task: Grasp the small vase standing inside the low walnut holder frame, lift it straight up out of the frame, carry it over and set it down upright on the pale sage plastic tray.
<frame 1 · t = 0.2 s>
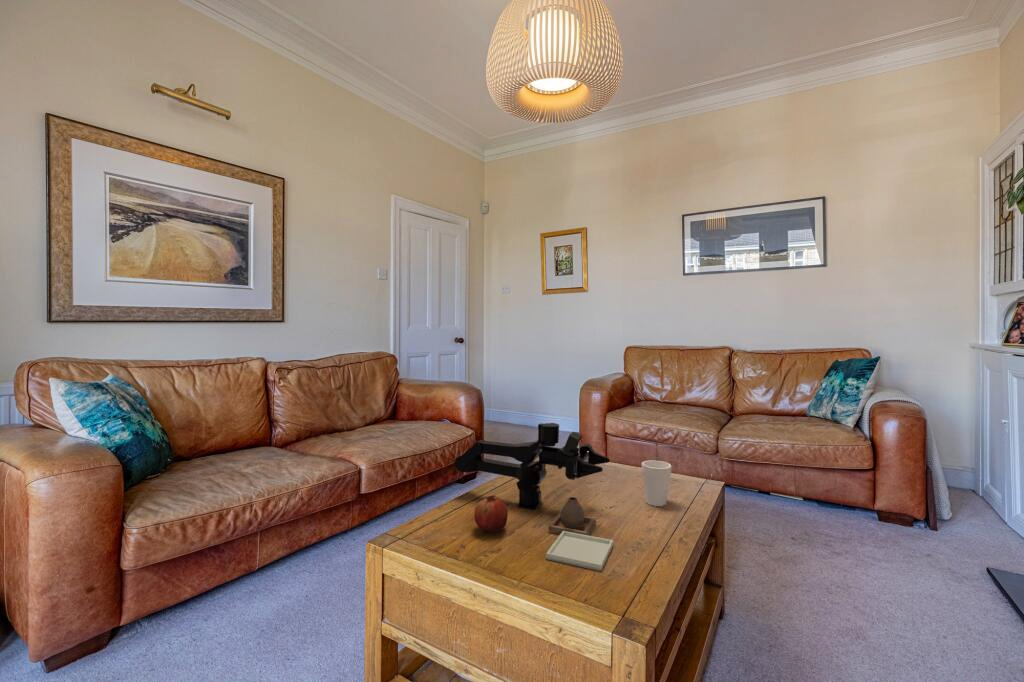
hand: (606, 464, 138), 17 cm above the table, tool horizontal, fingers open, 9 cm apart
vase: (572, 528, 132), resting in holder
foam cup: (656, 503, 151), on the table
tray: (580, 552, 117), on the table
holder: (572, 528, 132), on the table
fruit: (491, 531, 130), on the table
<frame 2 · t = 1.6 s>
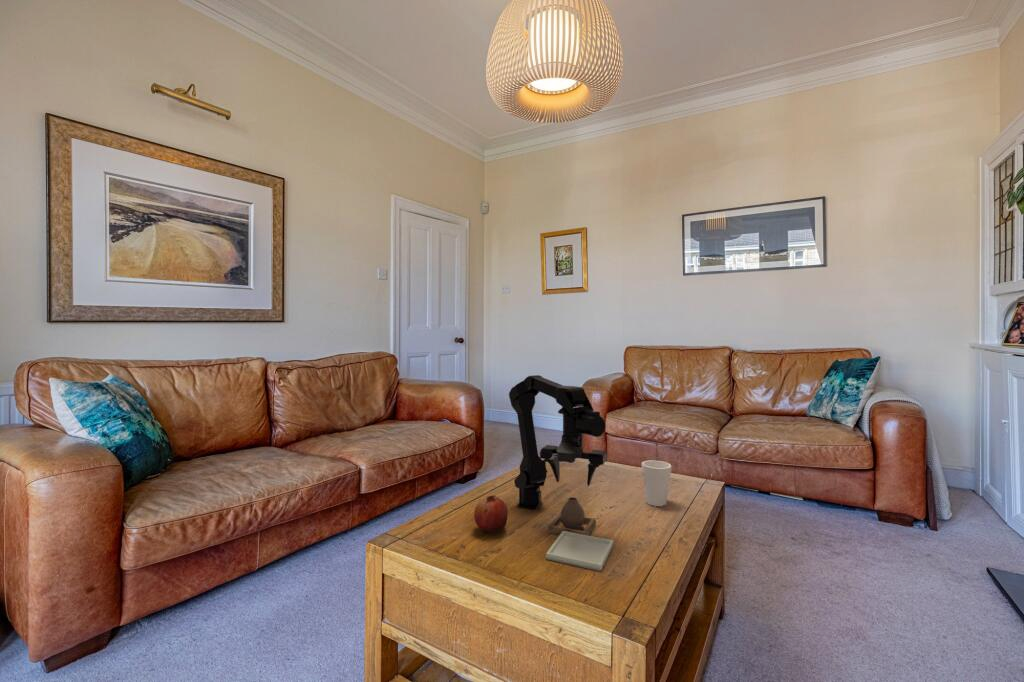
hand: (573, 483, 131), 13 cm above the table, tool pointing down, fingers open, 9 cm apart
nothing on the table moved.
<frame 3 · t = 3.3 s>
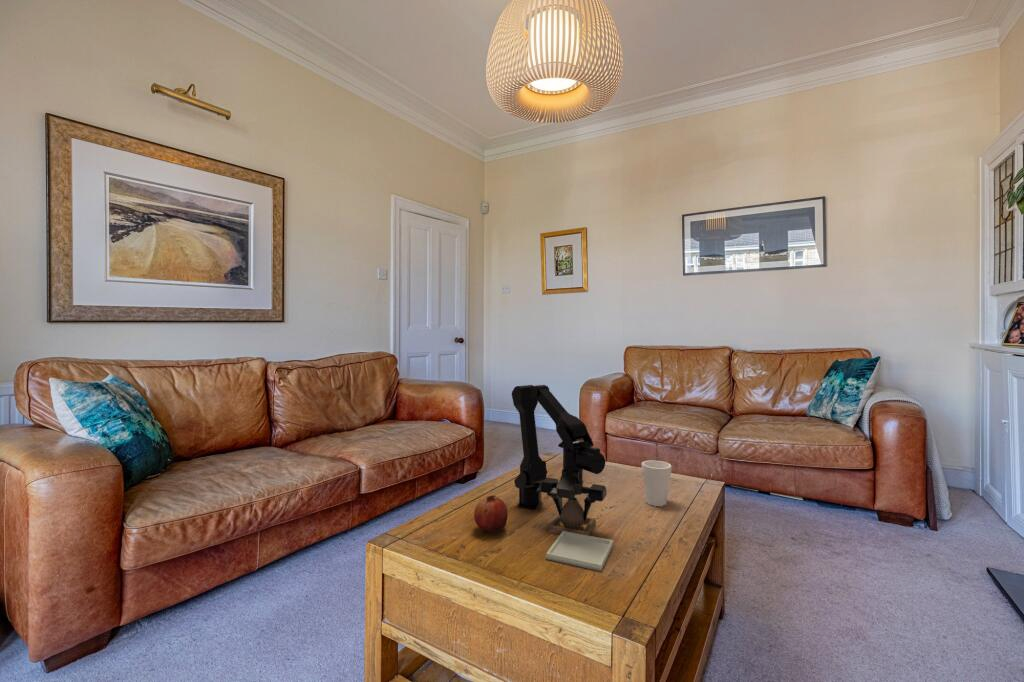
hand: (572, 517, 132), 3 cm above the table, tool pointing down, fingers closed on vase, 7 cm apart
vase: (572, 528, 132), resting in holder, touching gripper
everything else where it was.
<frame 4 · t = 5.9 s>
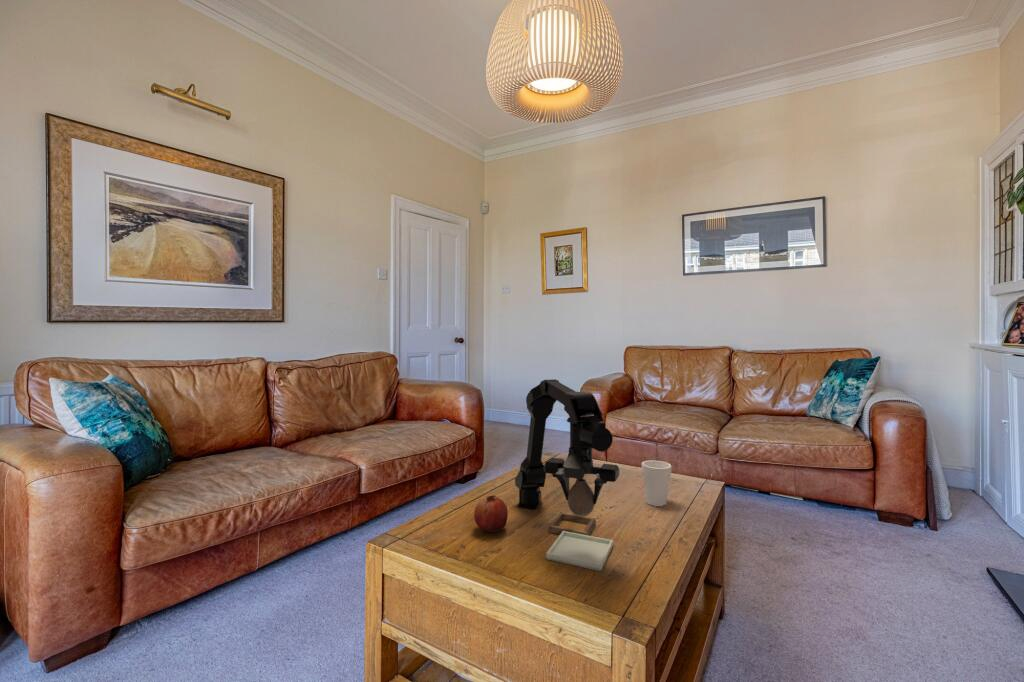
hand: (581, 501, 117), 13 cm above the table, tool pointing down, fingers closed on vase, 7 cm apart
vase: (581, 514, 117), point 10 cm above the table, touching gripper
everything else where it was.
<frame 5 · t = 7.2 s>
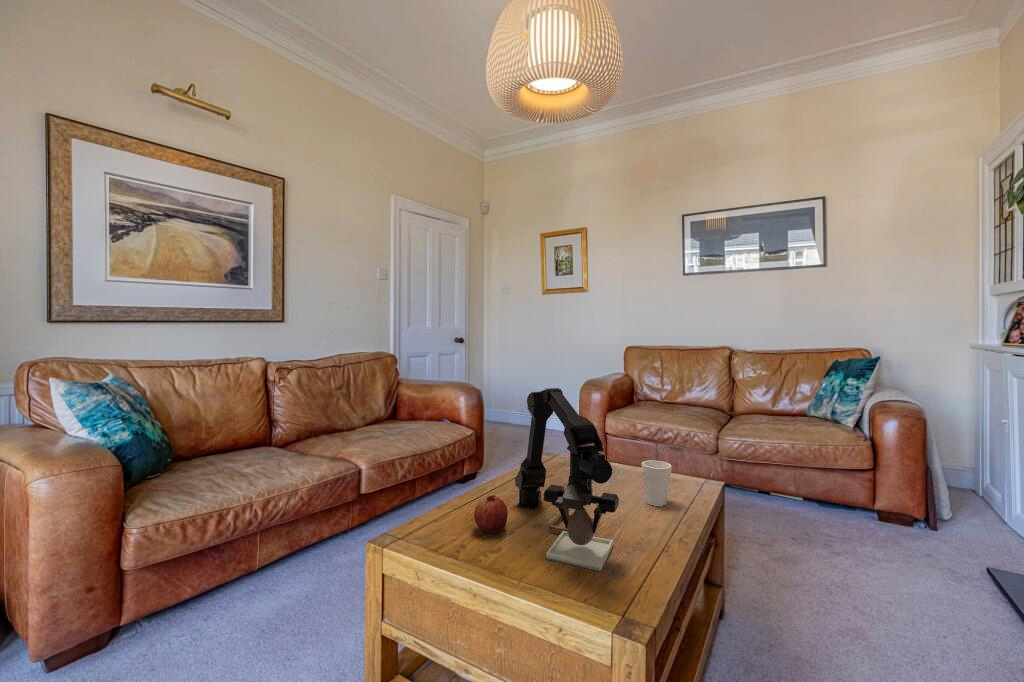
hand: (580, 530, 117), 6 cm above the table, tool pointing down, fingers closed on vase, 7 cm apart
vase: (580, 542, 117), point 3 cm above the table, touching gripper
everything else where it was.
when the fingers open (5 cm above the table, at t = 8.4 s): vase stays where it is, resting on tray.
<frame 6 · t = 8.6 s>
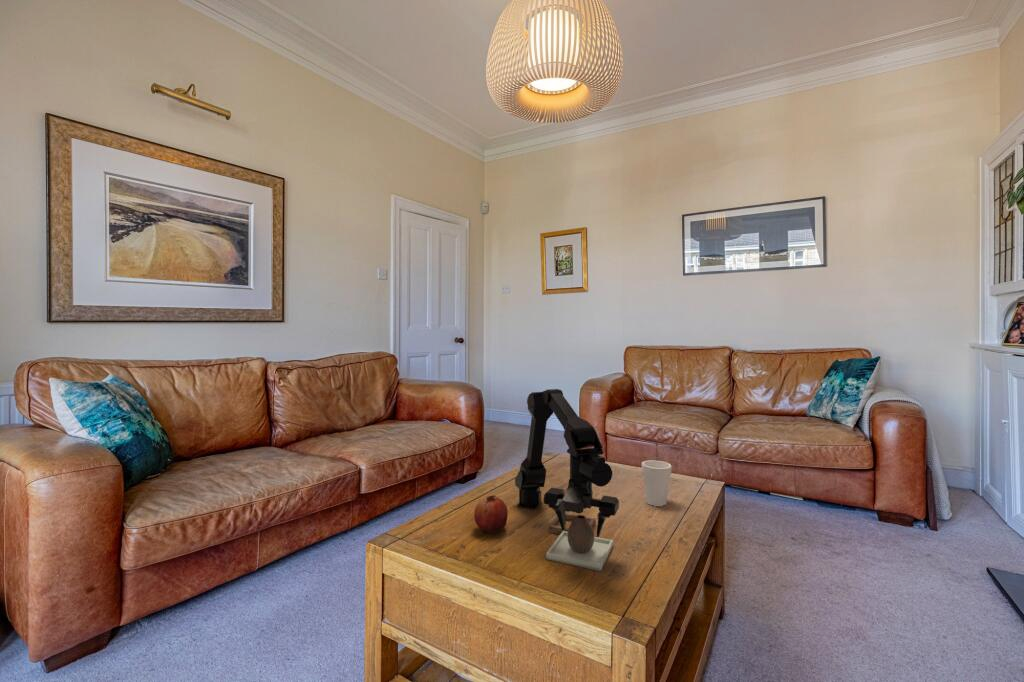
hand: (580, 533, 117), 5 cm above the table, tool pointing down, fingers open, 9 cm apart
vase: (580, 550, 117), resting on tray
everything else where it was.
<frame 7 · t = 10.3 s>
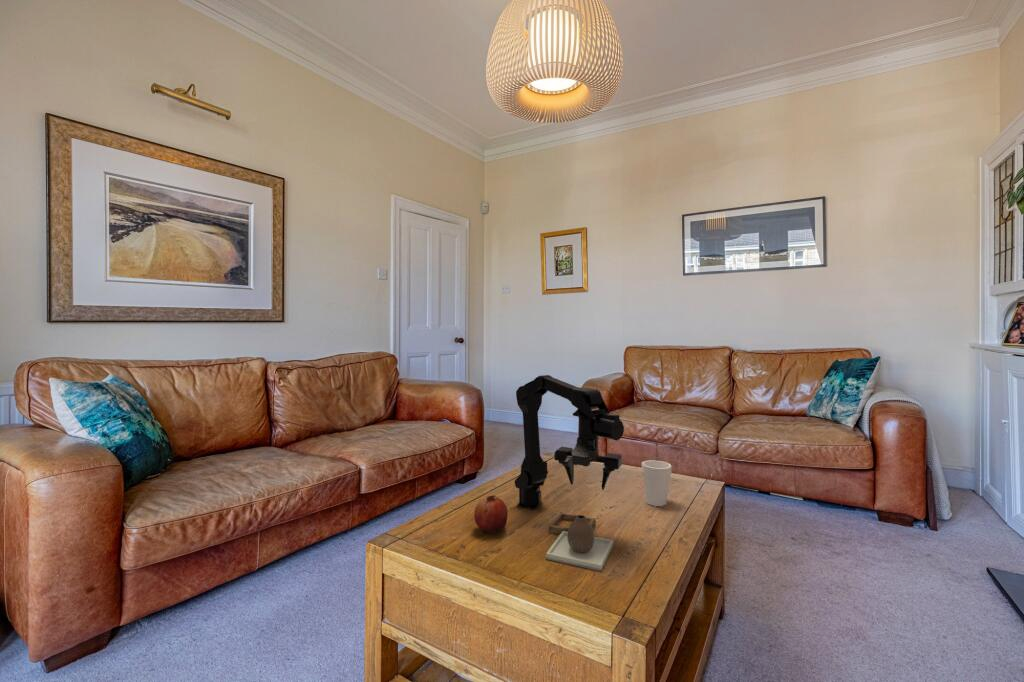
hand: (587, 486, 130), 13 cm above the table, tool pointing down, fingers open, 9 cm apart
nothing on the table moved.
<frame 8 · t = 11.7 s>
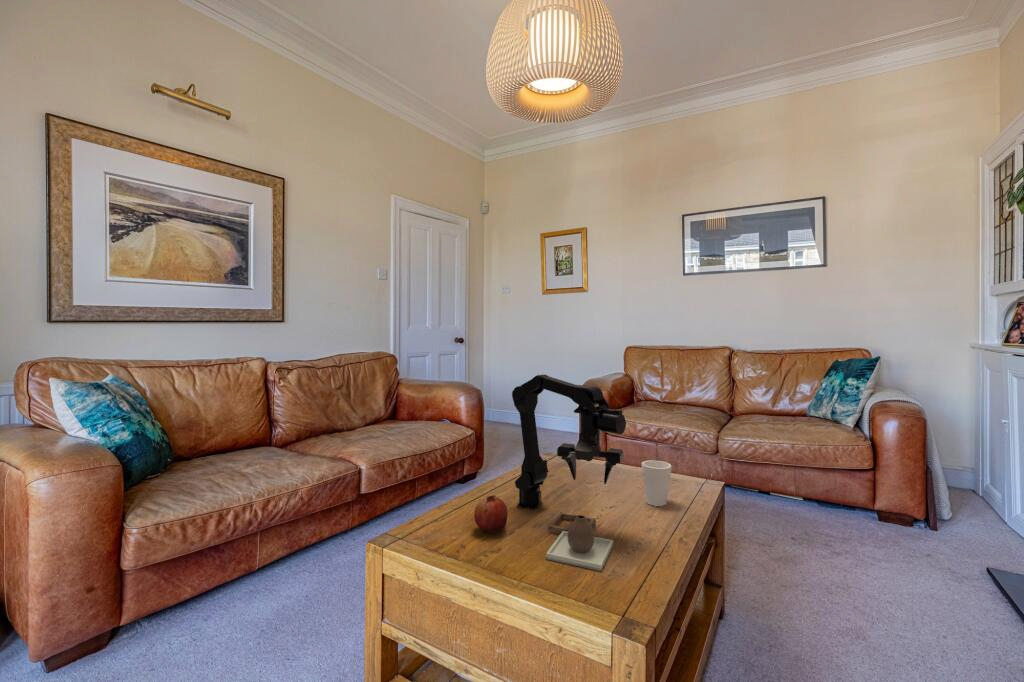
hand: (589, 481, 133), 13 cm above the table, tool pointing down, fingers open, 9 cm apart
nothing on the table moved.
at the end: vase inside the target area on the tray (0.1 cm from its centre), point 0.4 cm above the tray's base; vase tilted 0°; the gripper is holding nothing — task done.
